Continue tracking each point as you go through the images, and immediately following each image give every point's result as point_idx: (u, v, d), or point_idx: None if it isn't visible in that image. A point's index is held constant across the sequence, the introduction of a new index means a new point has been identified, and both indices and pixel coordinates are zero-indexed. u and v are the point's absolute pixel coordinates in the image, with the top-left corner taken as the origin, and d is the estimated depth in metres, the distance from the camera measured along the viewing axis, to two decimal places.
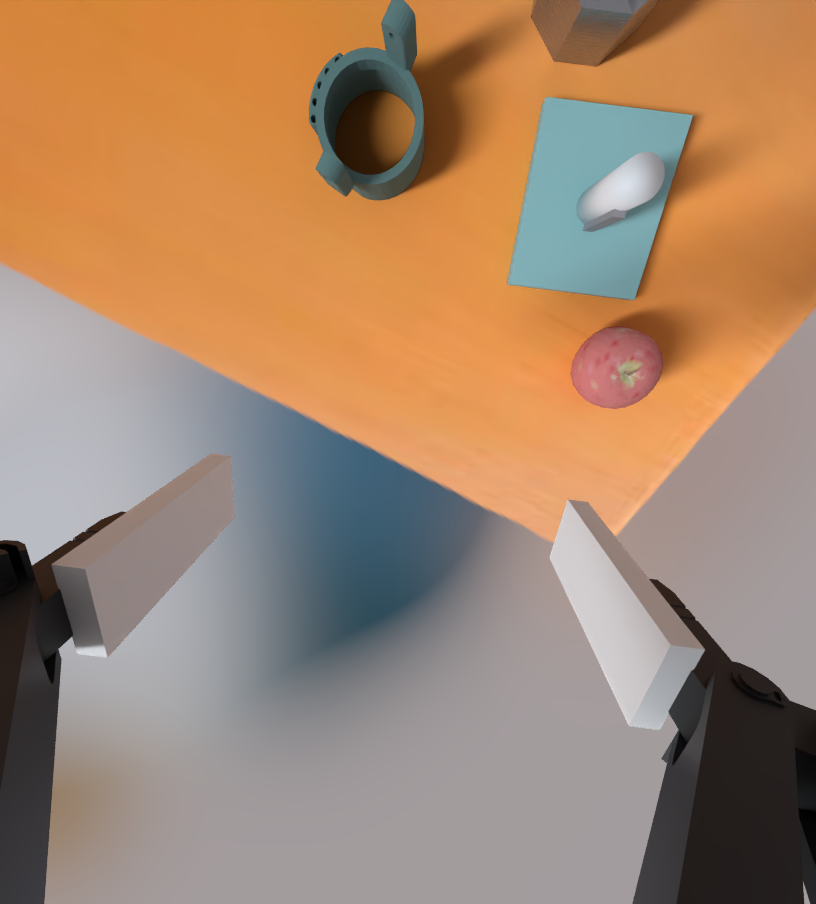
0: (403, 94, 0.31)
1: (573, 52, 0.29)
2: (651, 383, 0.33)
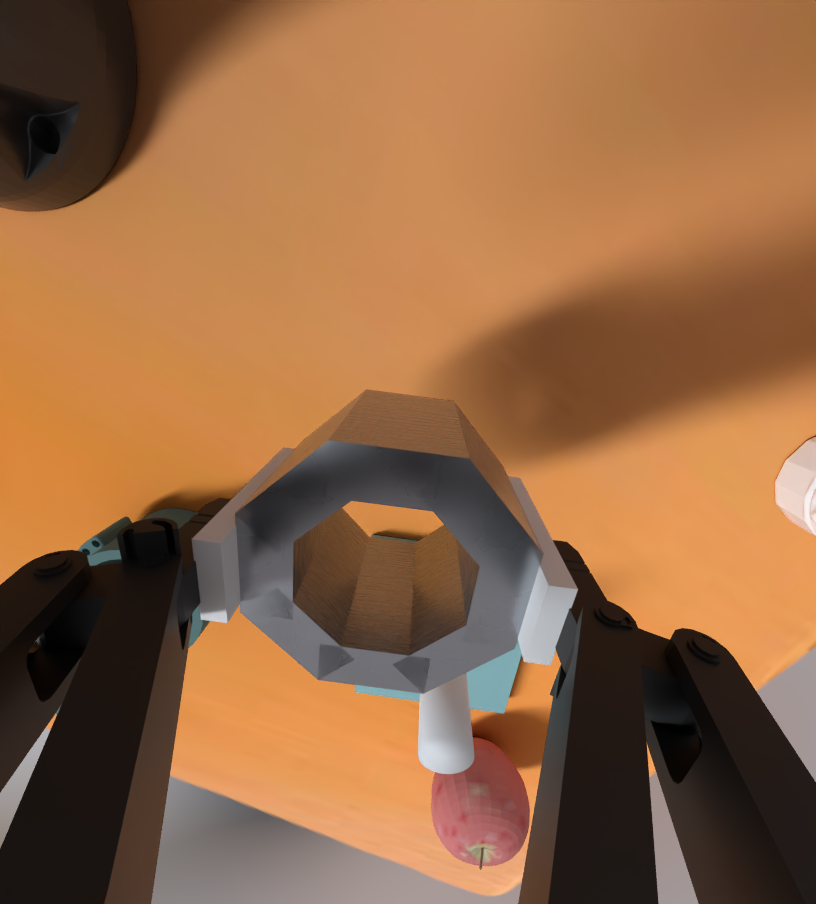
0: None
1: None
2: (511, 858, 0.27)
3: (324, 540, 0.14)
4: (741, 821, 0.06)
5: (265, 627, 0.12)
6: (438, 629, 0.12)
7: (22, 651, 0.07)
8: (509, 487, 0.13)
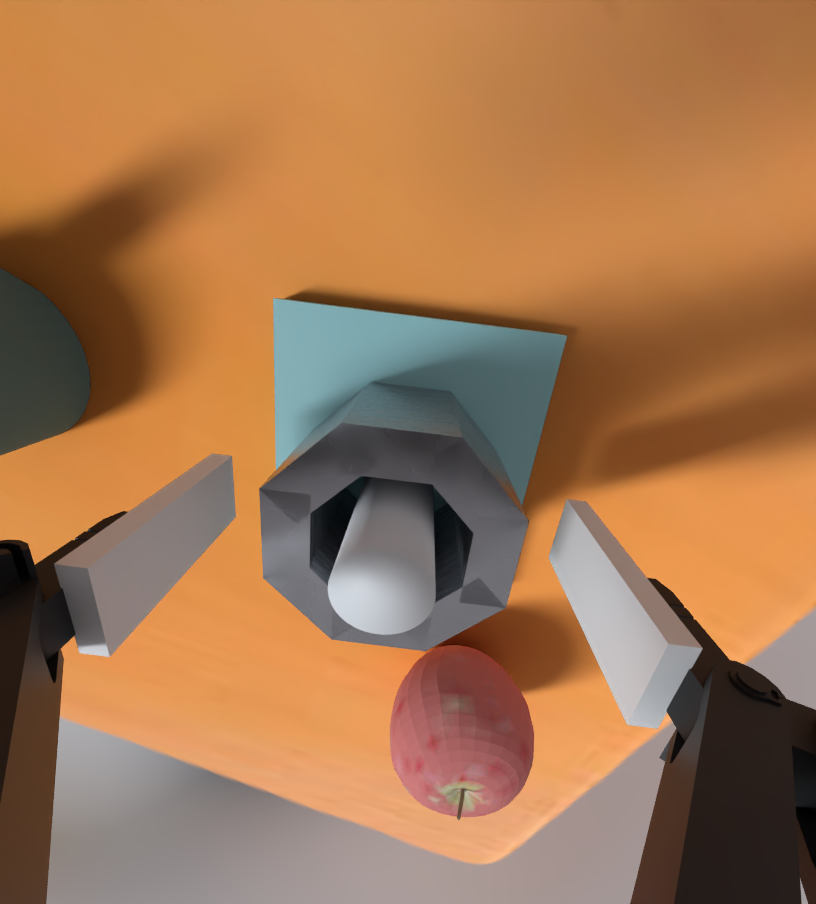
0: None
1: None
2: (506, 803, 0.18)
3: (334, 518, 0.16)
4: None
5: (285, 591, 0.13)
6: (437, 592, 0.13)
7: None
8: (501, 467, 0.14)
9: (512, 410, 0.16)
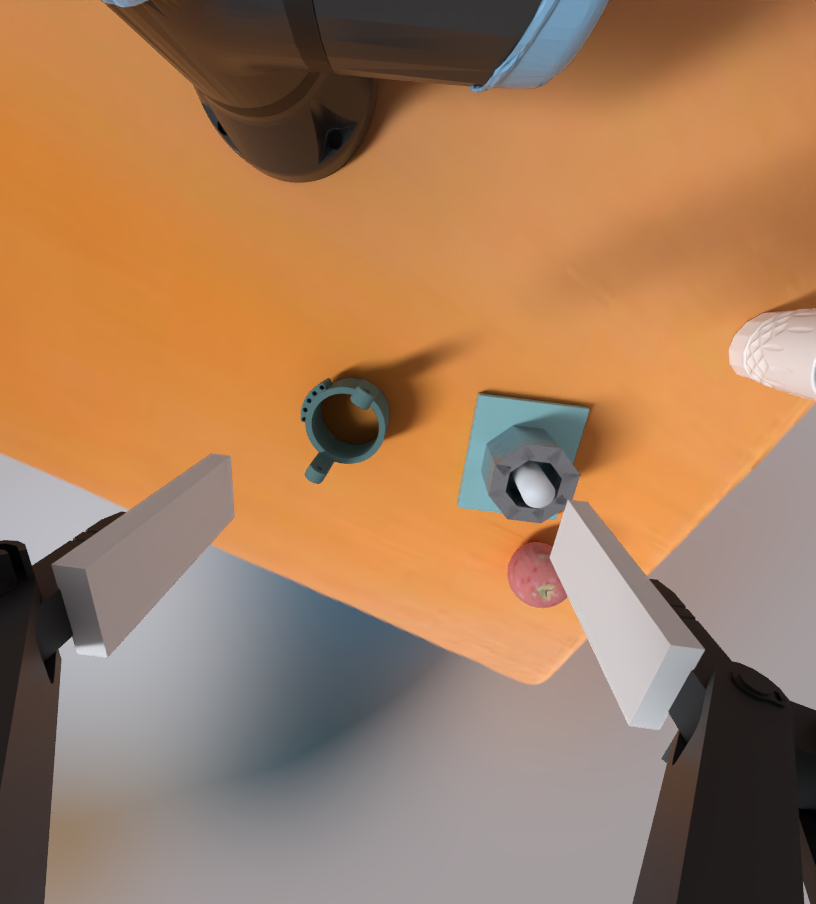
0: None
1: None
2: (563, 597, 0.43)
3: None
4: None
5: (494, 500, 0.39)
6: None
7: None
8: None
9: (567, 436, 0.42)
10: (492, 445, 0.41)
